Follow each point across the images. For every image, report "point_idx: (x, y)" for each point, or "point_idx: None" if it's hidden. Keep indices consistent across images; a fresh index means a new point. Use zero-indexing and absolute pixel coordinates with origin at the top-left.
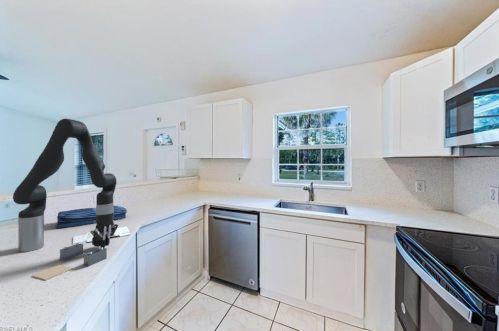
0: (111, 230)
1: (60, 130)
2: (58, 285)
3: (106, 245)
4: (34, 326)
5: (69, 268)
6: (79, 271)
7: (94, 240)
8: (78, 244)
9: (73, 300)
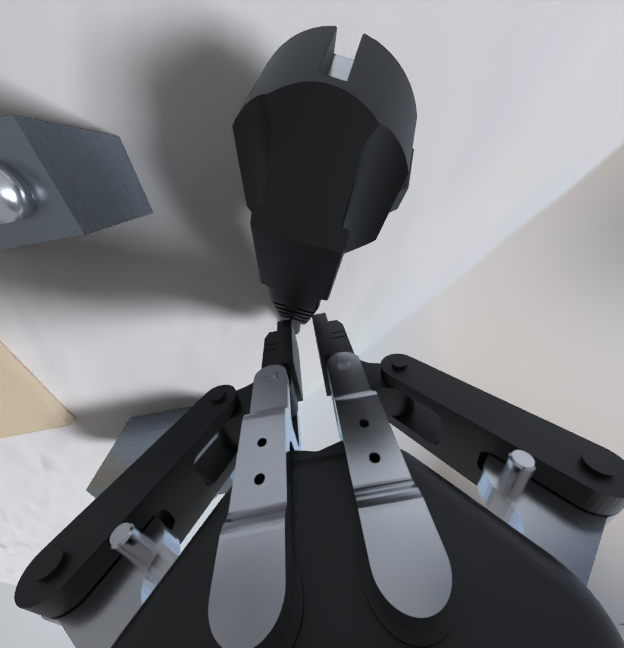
0: (446, 415)
1: None
2: (27, 494)
3: (315, 335)
4: (10, 583)
5: (49, 417)
6: (107, 452)
7: (260, 178)
8: (5, 224)
9: None
